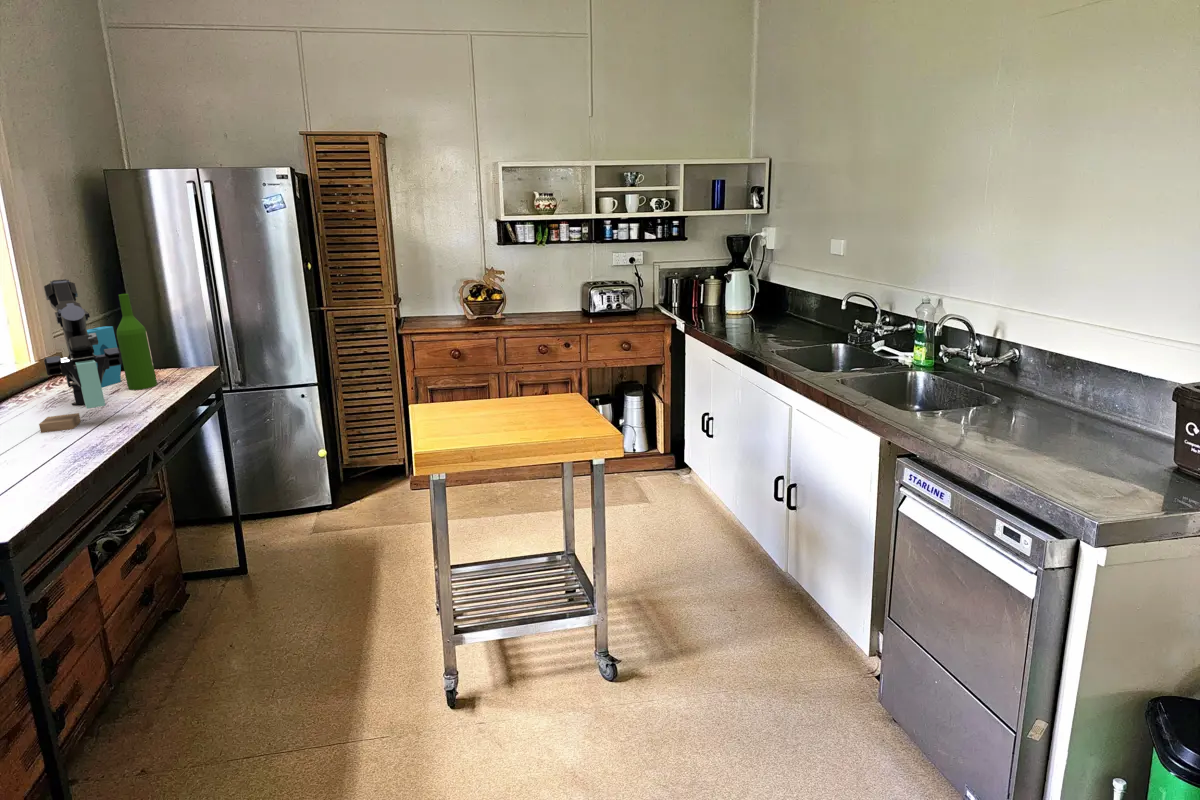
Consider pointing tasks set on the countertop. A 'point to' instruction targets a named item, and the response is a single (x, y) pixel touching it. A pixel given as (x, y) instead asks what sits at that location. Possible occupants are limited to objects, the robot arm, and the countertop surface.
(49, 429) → the walnut slab
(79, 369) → the teal block
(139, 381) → the wine bottle
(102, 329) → the block
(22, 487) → the countertop surface
